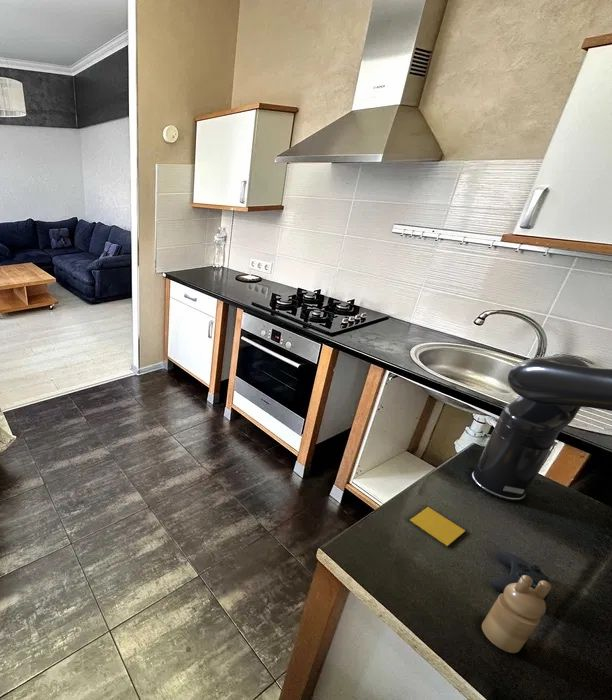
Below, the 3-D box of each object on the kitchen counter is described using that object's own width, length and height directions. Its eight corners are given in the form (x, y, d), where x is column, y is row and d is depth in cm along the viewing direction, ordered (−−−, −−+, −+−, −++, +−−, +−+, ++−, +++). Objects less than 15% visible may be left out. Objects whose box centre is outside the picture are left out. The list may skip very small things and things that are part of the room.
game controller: (493, 549, 71) (534, 548, 67) (512, 576, 70) (554, 576, 66) (487, 583, 65) (531, 584, 61) (507, 613, 64) (553, 617, 60)
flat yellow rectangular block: (427, 507, 82) (428, 506, 81) (464, 531, 76) (465, 530, 76) (409, 520, 78) (410, 519, 78) (447, 546, 73) (447, 545, 73)
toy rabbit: (477, 615, 61) (510, 560, 56) (512, 628, 60) (550, 571, 54) (487, 644, 57) (524, 588, 52) (526, 658, 56) (568, 601, 50)
